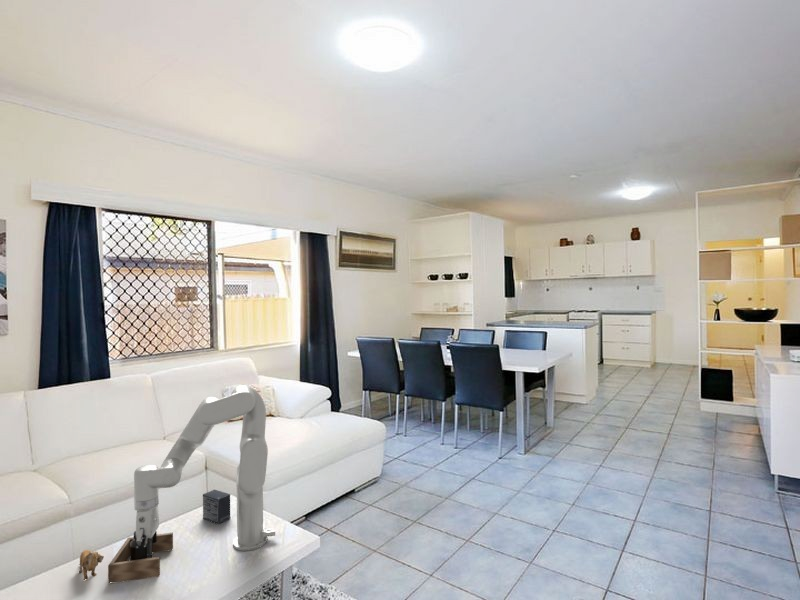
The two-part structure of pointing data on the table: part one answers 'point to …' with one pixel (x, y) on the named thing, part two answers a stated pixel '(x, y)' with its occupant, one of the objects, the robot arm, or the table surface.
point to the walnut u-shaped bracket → (138, 561)
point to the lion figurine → (89, 562)
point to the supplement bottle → (134, 548)
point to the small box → (216, 506)
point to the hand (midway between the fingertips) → (147, 550)
